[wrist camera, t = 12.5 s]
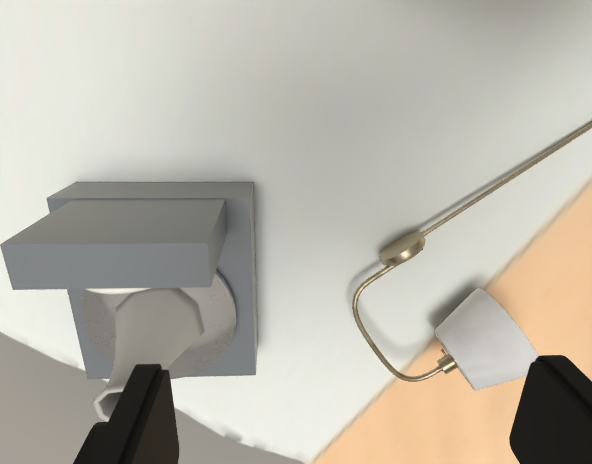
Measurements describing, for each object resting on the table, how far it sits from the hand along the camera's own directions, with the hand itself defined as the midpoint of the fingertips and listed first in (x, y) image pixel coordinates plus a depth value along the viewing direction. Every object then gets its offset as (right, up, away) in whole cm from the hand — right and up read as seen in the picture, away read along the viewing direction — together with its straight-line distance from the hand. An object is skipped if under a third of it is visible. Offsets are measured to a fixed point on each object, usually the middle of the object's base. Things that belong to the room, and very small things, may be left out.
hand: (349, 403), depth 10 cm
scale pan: (-13, -3, +25) cm, 29 cm away
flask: (-13, -3, +24) cm, 28 cm away
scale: (-13, +1, +30) cm, 32 cm away
